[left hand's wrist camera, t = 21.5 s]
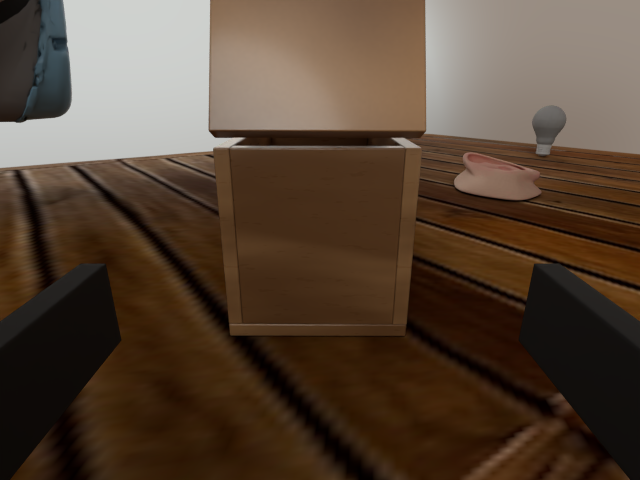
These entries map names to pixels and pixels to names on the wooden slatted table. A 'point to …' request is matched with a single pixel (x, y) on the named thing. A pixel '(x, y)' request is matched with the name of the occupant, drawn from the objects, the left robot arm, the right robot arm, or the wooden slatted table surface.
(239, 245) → the chest
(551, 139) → the light bulb
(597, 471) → the wooden slatted table surface
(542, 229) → the wooden slatted table surface
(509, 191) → the anatomical model
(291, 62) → the lid
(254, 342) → the wooden slatted table surface
